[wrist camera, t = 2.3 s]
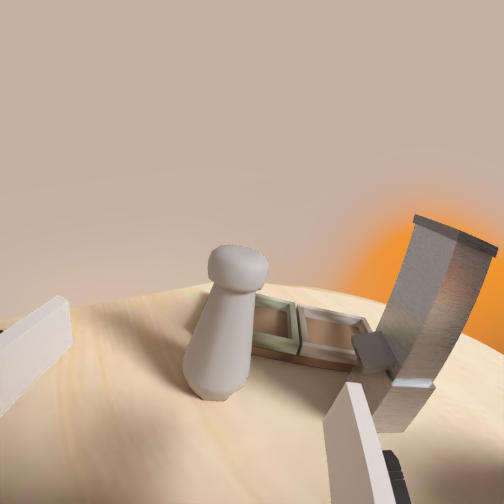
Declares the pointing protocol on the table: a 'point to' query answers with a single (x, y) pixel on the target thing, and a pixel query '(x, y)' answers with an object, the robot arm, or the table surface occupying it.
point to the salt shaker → (225, 324)
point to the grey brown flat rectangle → (305, 334)
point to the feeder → (419, 322)
